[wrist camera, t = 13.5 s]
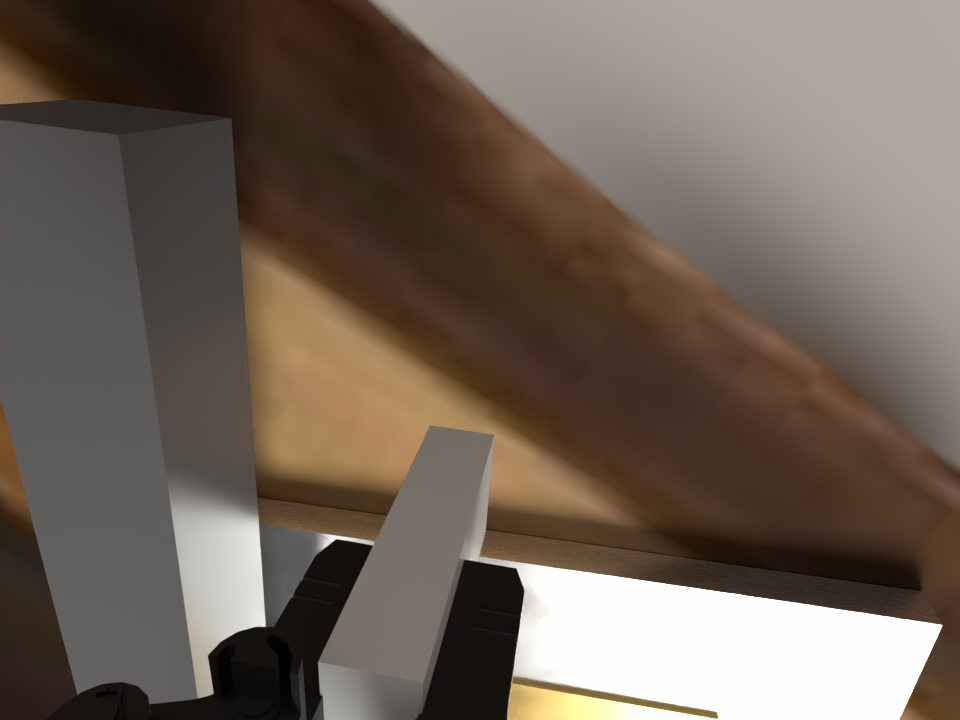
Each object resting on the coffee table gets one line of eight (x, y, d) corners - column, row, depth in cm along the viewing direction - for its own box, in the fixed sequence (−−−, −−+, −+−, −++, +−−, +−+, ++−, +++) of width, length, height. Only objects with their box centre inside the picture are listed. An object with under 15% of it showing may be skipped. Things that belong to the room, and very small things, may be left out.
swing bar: (239, 119, 15) (128, 136, 12) (282, 803, 27) (233, 916, 24) (71, 98, 16) (-85, 108, 12) (185, 779, 28) (123, 885, 24)
